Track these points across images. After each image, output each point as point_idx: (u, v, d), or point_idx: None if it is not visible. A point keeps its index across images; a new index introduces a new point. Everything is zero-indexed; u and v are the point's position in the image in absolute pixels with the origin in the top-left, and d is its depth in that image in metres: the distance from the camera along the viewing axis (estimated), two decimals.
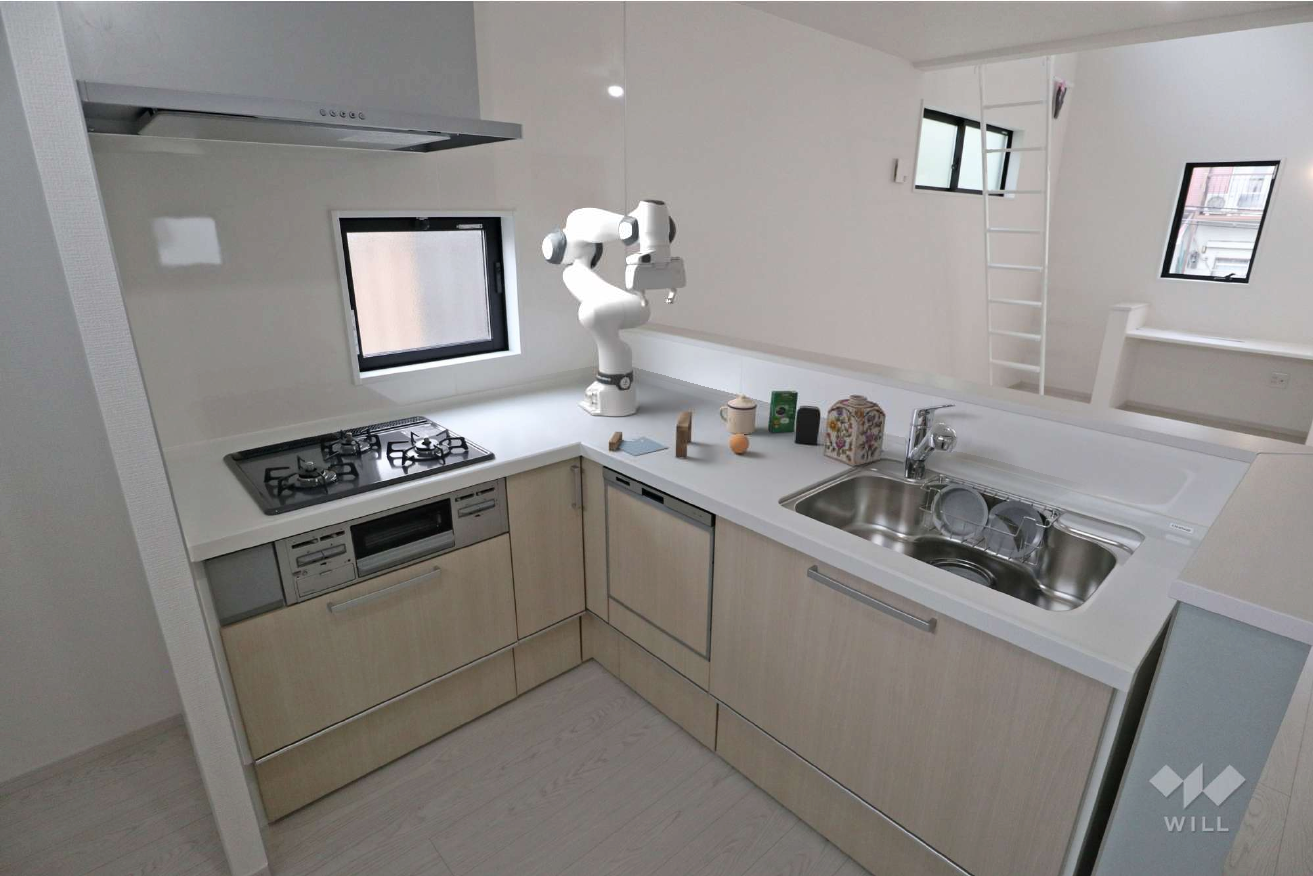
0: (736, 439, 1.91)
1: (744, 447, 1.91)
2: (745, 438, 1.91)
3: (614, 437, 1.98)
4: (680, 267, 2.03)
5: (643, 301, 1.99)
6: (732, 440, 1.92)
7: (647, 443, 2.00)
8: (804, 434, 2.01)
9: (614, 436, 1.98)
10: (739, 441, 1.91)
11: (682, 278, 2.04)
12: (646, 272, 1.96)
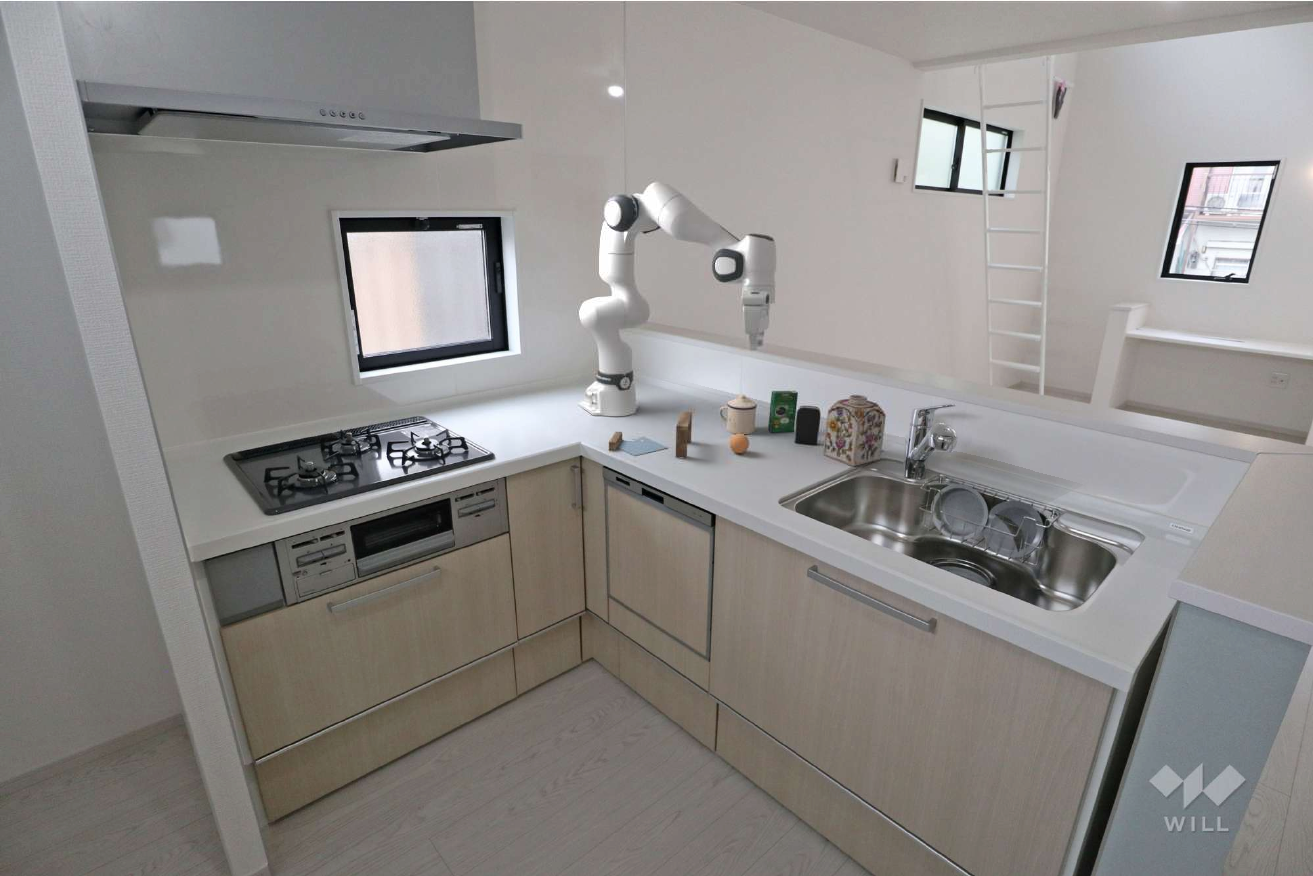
0: (736, 439, 1.91)
1: (744, 447, 1.91)
2: (745, 438, 1.91)
3: (614, 437, 1.98)
4: None
5: (754, 345, 1.80)
6: (732, 440, 1.92)
7: (647, 443, 2.00)
8: (804, 434, 2.01)
9: (614, 436, 1.98)
10: (739, 441, 1.91)
11: (768, 318, 1.90)
12: None
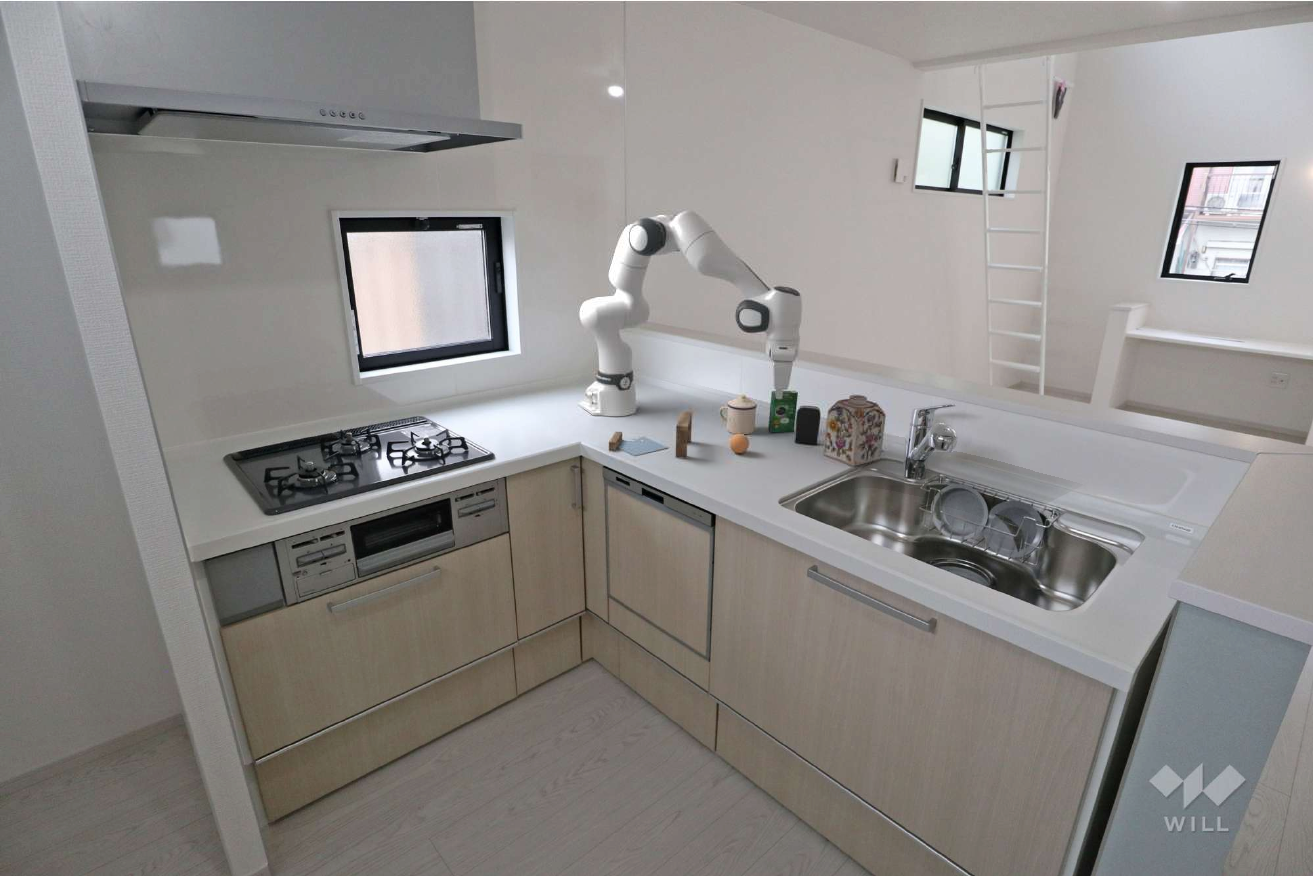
0: (736, 439, 1.91)
1: (744, 447, 1.91)
2: (745, 438, 1.91)
3: (614, 437, 1.98)
4: None
5: (780, 394, 1.86)
6: (732, 440, 1.92)
7: (647, 443, 2.00)
8: (804, 434, 2.01)
9: (614, 436, 1.98)
10: (739, 441, 1.91)
11: None
12: None
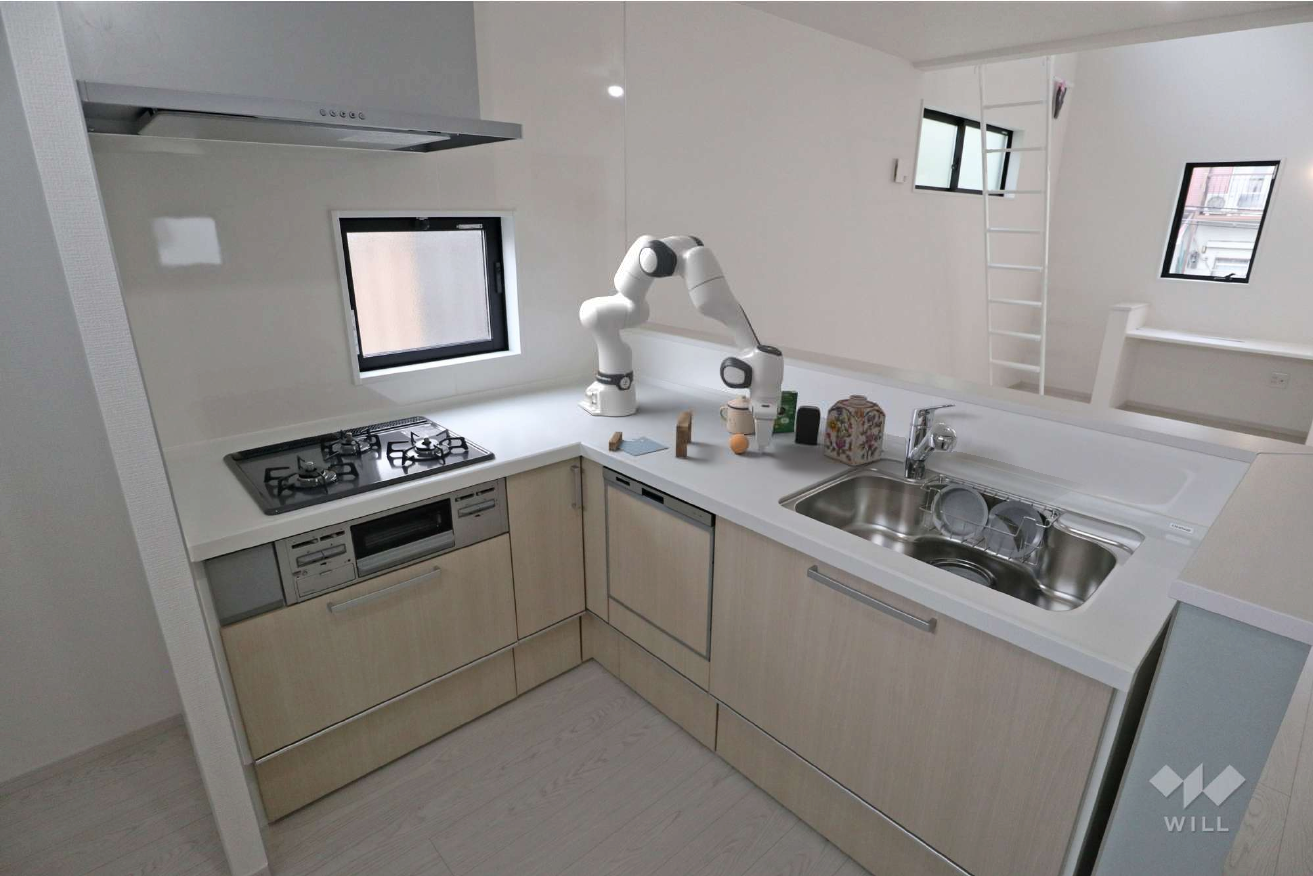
0: (736, 439, 1.91)
1: (744, 447, 1.91)
2: (745, 438, 1.91)
3: (614, 437, 1.98)
4: None
5: (762, 447, 1.92)
6: (732, 440, 1.92)
7: (647, 443, 2.00)
8: (804, 434, 2.01)
9: (614, 436, 1.98)
10: (739, 441, 1.91)
11: None
12: None
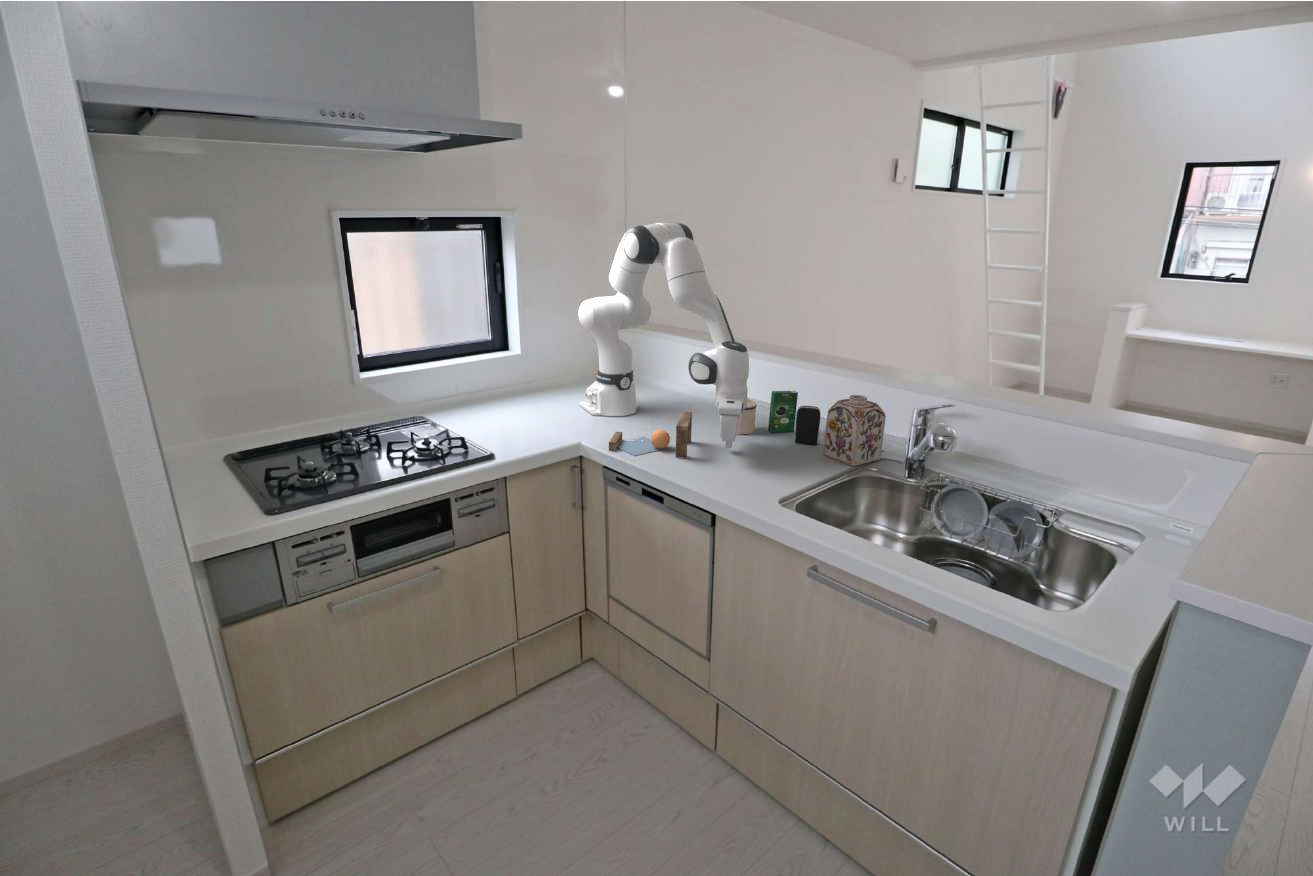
0: (653, 444, 1.95)
1: (660, 436, 1.93)
2: (652, 435, 1.95)
3: (614, 437, 1.98)
4: None
5: (729, 444, 1.92)
6: None
7: (647, 443, 2.00)
8: (804, 434, 2.01)
9: (614, 436, 1.98)
10: (654, 442, 1.94)
11: None
12: None
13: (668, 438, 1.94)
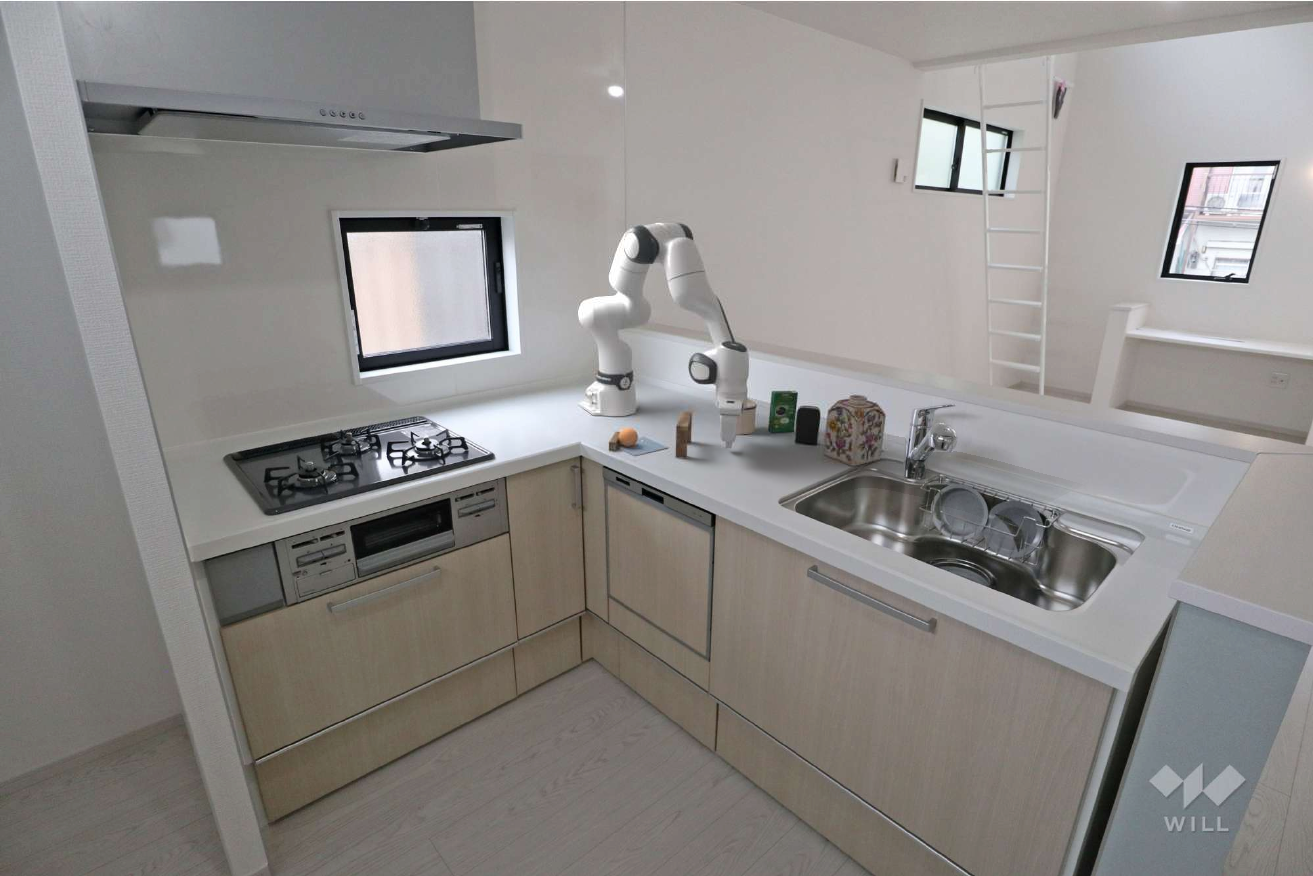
0: (631, 435, 1.95)
1: (627, 444, 1.95)
2: (635, 441, 1.96)
3: (614, 437, 1.98)
4: None
5: (729, 444, 1.92)
6: (629, 431, 1.95)
7: (647, 443, 2.00)
8: (804, 434, 2.01)
9: (614, 436, 1.98)
10: (631, 438, 1.94)
11: None
12: None
13: (620, 442, 1.97)
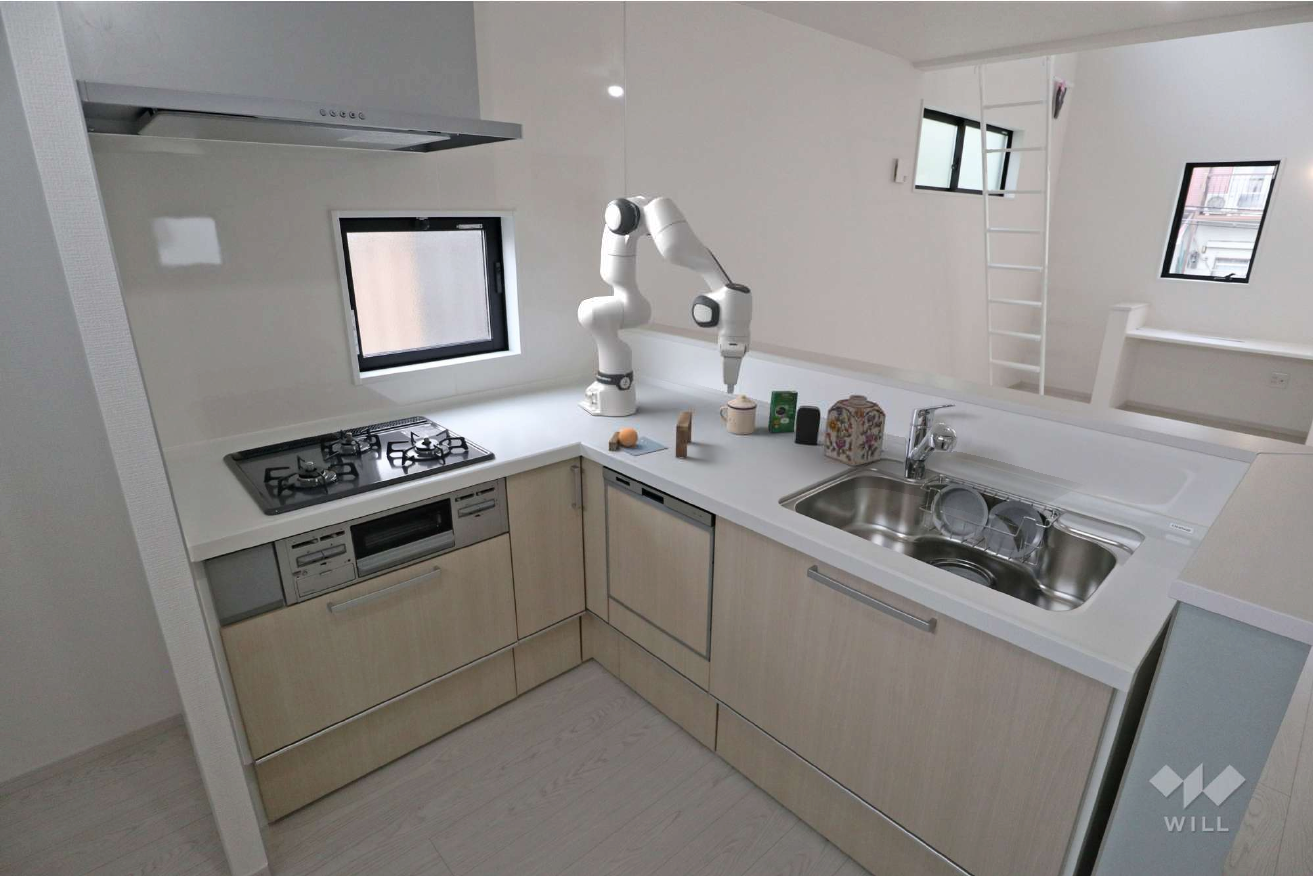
0: (631, 435, 1.95)
1: (627, 444, 1.95)
2: (635, 441, 1.96)
3: (614, 437, 1.98)
4: None
5: (731, 389, 1.90)
6: (629, 431, 1.95)
7: (647, 443, 2.00)
8: (804, 434, 2.01)
9: (614, 436, 1.98)
10: (631, 438, 1.94)
11: None
12: None
13: (620, 442, 1.97)
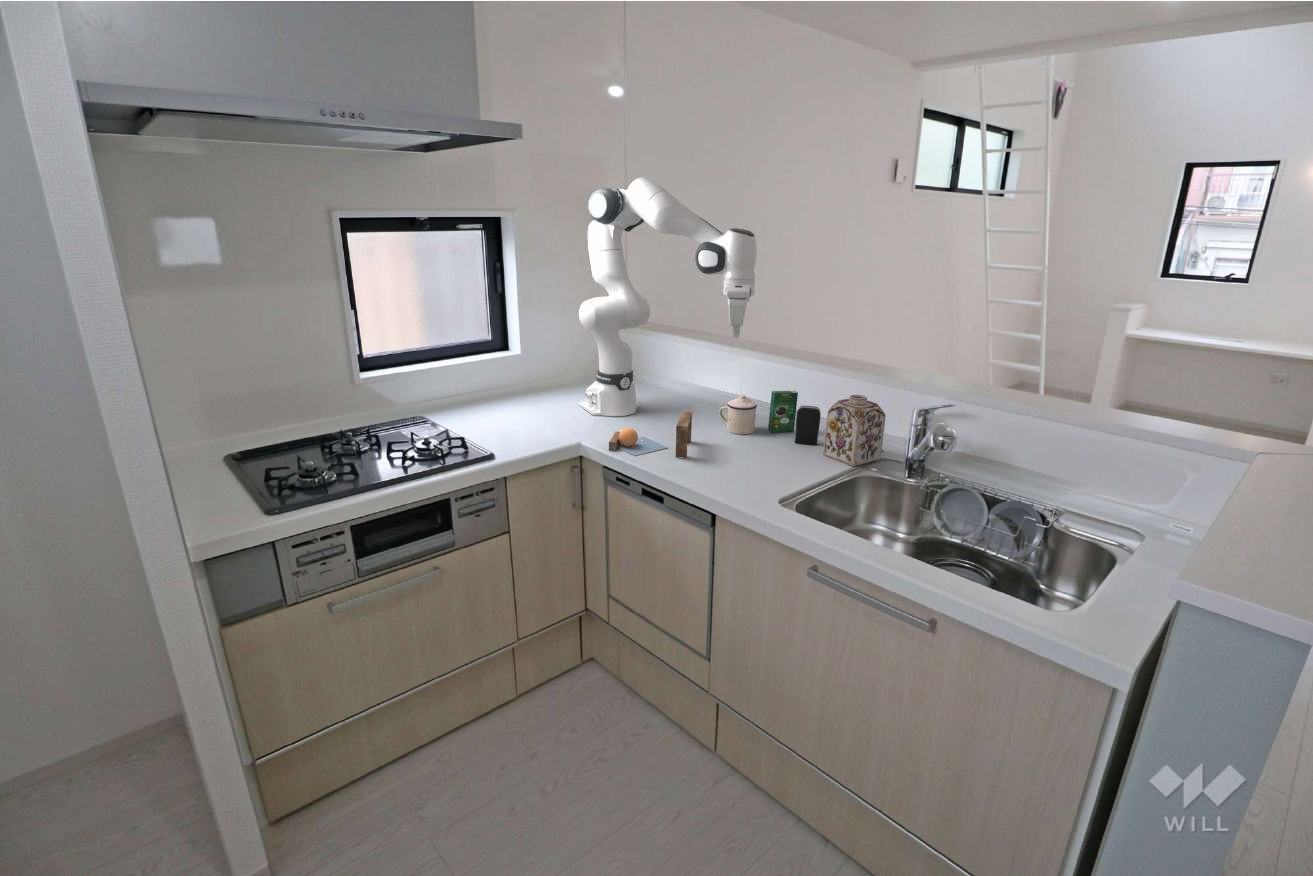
0: (631, 435, 1.95)
1: (627, 444, 1.95)
2: (635, 441, 1.96)
3: (614, 437, 1.98)
4: None
5: (737, 333, 1.95)
6: (629, 431, 1.95)
7: (647, 443, 2.00)
8: (804, 434, 2.01)
9: (614, 436, 1.98)
10: (631, 438, 1.94)
11: None
12: None
13: (620, 442, 1.97)
